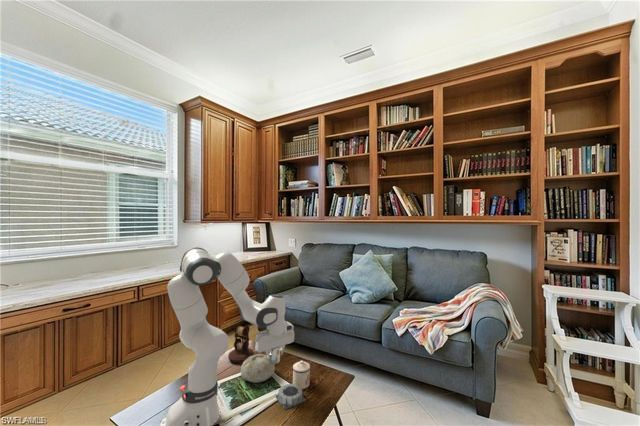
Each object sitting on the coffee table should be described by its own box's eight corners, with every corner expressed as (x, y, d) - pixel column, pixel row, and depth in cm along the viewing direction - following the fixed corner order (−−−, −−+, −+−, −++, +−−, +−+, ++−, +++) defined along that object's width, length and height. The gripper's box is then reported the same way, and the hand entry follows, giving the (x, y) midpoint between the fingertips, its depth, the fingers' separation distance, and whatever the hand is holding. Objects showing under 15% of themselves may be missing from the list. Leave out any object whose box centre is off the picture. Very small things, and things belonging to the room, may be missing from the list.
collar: (284, 410, 118) (284, 402, 118) (274, 395, 127) (274, 388, 127) (306, 401, 123) (306, 393, 124) (295, 388, 133) (295, 381, 133)
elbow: (273, 365, 127) (273, 351, 127) (267, 360, 131) (268, 346, 131) (282, 362, 130) (282, 348, 130) (276, 357, 134) (277, 343, 134)
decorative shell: (254, 392, 129) (255, 371, 129) (233, 378, 139) (233, 359, 140) (281, 375, 143) (281, 356, 143) (259, 363, 154) (260, 346, 154)
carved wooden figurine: (258, 356, 162) (259, 323, 162) (239, 367, 149) (240, 332, 150) (242, 349, 170) (243, 318, 170) (222, 359, 157) (223, 325, 157)
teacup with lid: (309, 390, 131) (309, 366, 131) (291, 389, 132) (291, 365, 132) (311, 375, 143) (311, 354, 143) (294, 374, 144) (294, 353, 144)
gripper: (259, 335, 122) (258, 365, 122) (296, 325, 135) (295, 352, 135) (253, 330, 127) (252, 359, 127) (289, 321, 140) (289, 347, 140)
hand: (274, 355), depth 131 cm, fingers closed on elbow, 5 cm apart
